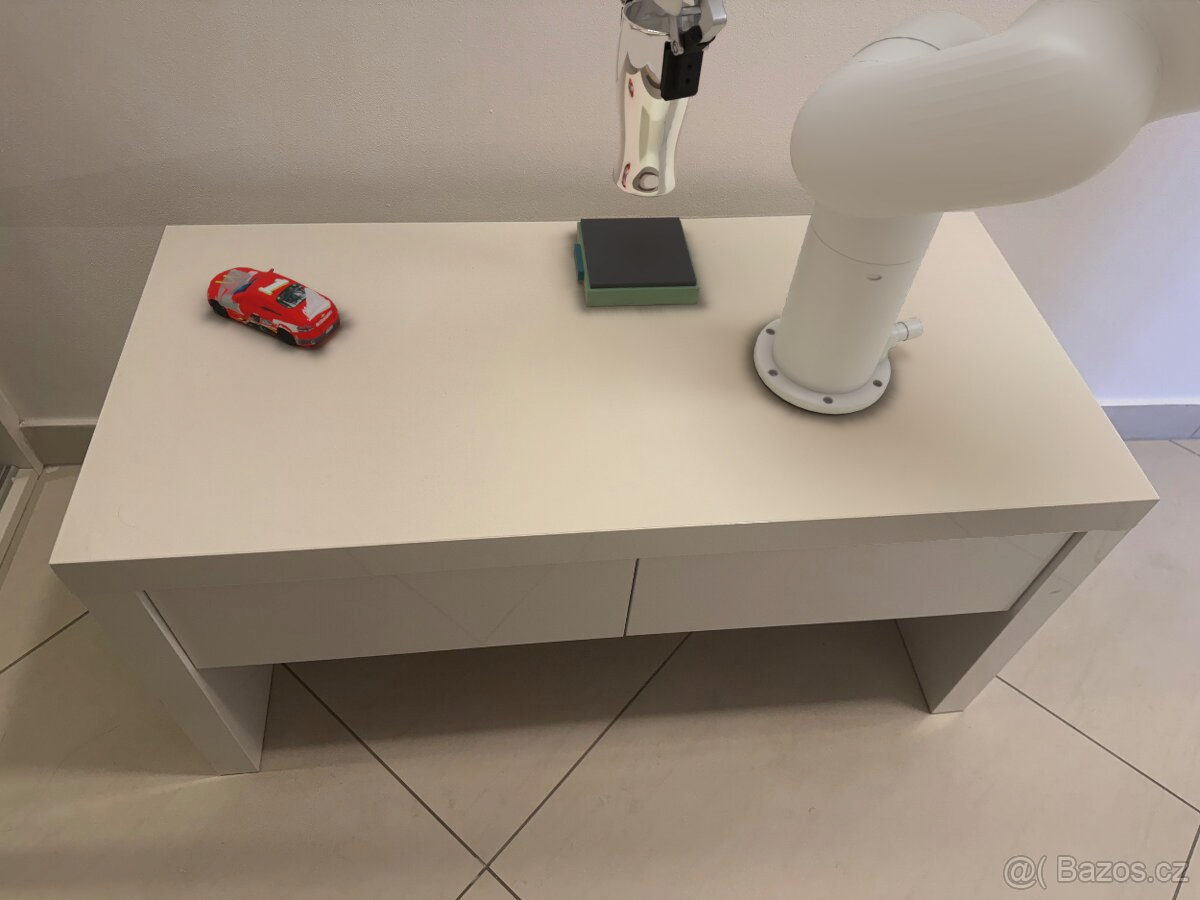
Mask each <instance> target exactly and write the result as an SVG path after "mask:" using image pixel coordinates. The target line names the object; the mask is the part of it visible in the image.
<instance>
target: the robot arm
mask: <svg viewBox="0 0 1200 900" xmlns="http://www.w3.org/2000/svg"><path fill="white" fill-rule="evenodd" d="M619 1H620V3H621V5H622V6H621V9H620V10H621V12H620V21H621V20H622V10H623V7H624V6H625V5H626V4H627V3H628V2H630V1H632V0H619ZM653 1H654V2H655V3H656V4H657V5H659V6H660V7H661V8H662V9H663V10H664V11H666V12H667V13H668V20H669V30H670V40H671V49H669V50H666V52H665V60H664V69H663V78H662V86H661V97H662V98H663V99H664V100H665V101H671V100H676V99H681V98H686V97H691V96H693V97H694V96H696V95H697V94H698V91H699V86H700V79H701V73H702V67H703V61H704V53H705V51H708V50H709V48H710V44H711V43H712V42H713V41H715V40H716V38H717V36H718V34H719V33H721V31H722V30H723V29H724V28H725V27H726V25H727V23H728V15H727V13H726V8H725V5H726V3H727V0H693V5H694V6H689V7H682V4H683V0H653ZM689 15H694V26H692V27H691V28H690V29H689V30H687V31H686V32H685V33H684V34H683V25H682V17H683V16H689ZM620 26H621V22H620V24H619V27H620ZM1197 112H1200V0H1036V1H1035V2H1034V3H1033V4H1031V5H1030V6H1029V7H1028V8H1027V9H1026V10H1024V11H1023V13H1021V14H1020V15H1019V16H1018V17H1017V18H1016V19H1015V20H1014V21H1013V22H1011V24H1010V25H1008V27H1006V29H1004V30H1003V31H1001V32H999V33H996V34H993V35H991V36H990V34H989V32H987V30H986V29H985V28H984V27H983V26H982V25H981V24H980V23H978V22H977V21H976V20H975V19H972V18H971V17H969V16H967V15H965V14H962V13H958V12H955V11H953V10H952V11H951V10H930V11H924V12H920V13H917V14H914V15H911V16H910V17H907V18H904V19H902V20H900V21H898V22H897V23H895V24H893V25H892V26H890V27H889V28H887V29H886V30H884V31H883V32H881V33H880V34H879V35H877V36H876V37H875V38H874V39H873V40H871V41H869V43H868V44H867V45H865V46H863V47H862V48H861V49H860V50H859V51H858V52H856V53H855V54H854V55H853V56H852V57H851V58H849V59H848V60H847V61H845V63H844V64H842V65H840V67H838V68H837V69H836V70H834V72H832V73H831V74H830V75H829V76H828V77H826V78H825V79H824V80H822V82H821V83H819V85H817V86H816V87H815V88H814V89H813V90H812V92H811V93H810V94H809V95H808V97H807V98H806V100H805V101H804V102H803V104H802V106H801V107H800V109H799V110H798V113H797V115H796V117H795V120H794V123H793V126H792V130H791V134H790V141H789V157H790V162H791V166H792V170H793V172H794V176H795V178H796V179H797V181H798V183H799V184H800V186H801V188H802V189H803V190H804V192H805V193H806V194H808V195H809V197H810V198H812V199H813V200H814V204H813V207H812V211H811V214H810V217H809V220H808V224H807V227H806V230H805V234H804V237H803V240H802V245H801V247H800V251H799V255H798V258H797V261H796V265H795V267H794V271H793V275H792V278H791V281H790V285H789V288H788V291H787V295H786V298H785V301H784V306H783V309H782V312H781V315H780V317H777V318H775V319H773V320H772V321H770V322H768V323H767V324H766V326H764V328H762V330H761V331H760V332H759V334H758V336H757V338H756V341H755V345H754V348H753V361H754V367H755V370H756V371H757V373H758V376H759V378H761V380H762V381H763V383H764V384H765V385H766V386H767V387H768V388H769V389H770V390H771V391H772V392H773V393H774V394H776V395H777V396H778V397H780V398H781V399H782V400H784V401H786V402H788V403H790V404H792V405H794V406H795V407H798V408H801V409H803V410H807V411H811V412H815V413H820V414H828V415H843V414H850V413H854V412H859V411H862V410H864V409H866V408H868V407H870V406H872V405H873V404H874V403H876V402H877V401H878V400H879V399H880V398H881V397H882V395H883V394H884V393H885V390H886V389H887V387H888V385H889V382H890V378H891V373H892V371H891V370H892V369H891V362H890V360H889V356H888V353H889V351H890V350H891V349H894V348H896V347H897V345H898V343H900V342H907V341H911V340H913V339H916V338H919V337H921V336H922V335H923V333H924V325H923V322H922V320H921V319H920V318H919V317H916V316H914V317H910V318H907V319H903V320H900V321H897V320H898V318H899V315H900V313H901V311H902V308H903V307H904V303H905V302H906V299H907V297H908V294H909V292H910V289H911V288H912V285H913V283H914V281H915V278H916V276H917V274H918V272H919V269H920V267H921V264H922V263H923V260H924V258H925V256H926V253H927V251H928V249H929V247H930V245H931V243H932V240H933V237H934V236H935V233H936V232H937V229H938V227H939V225H940V222H941V220H942V219H943V215H944V214H945V213H951V212H959V211H967V210H976V209H985V208H986V209H987V208H994V207H1001V206H1009V205H1018V204H1024V203H1031V202H1035V201H1039V200H1043V199H1046V198H1049V197H1053V196H1056V195H1058V194H1059V195H1060V194H1063V193H1064V192H1067V191H1069V190H1072V189H1074V188H1077V187H1079V186H1081V185H1082V184H1084V183H1086V182H1088V181H1090V180H1091V179H1093V178H1095V177H1096V176H1098V175H1099V174H1100V173H1102V172H1103V171H1105V170H1106V169H1107V168H1108V167H1110V166H1111V165H1112V164H1113V163H1115V161H1116V160H1117V159H1118V158H1119V157H1120V156H1121V155H1122V154H1123V153H1124V152H1125V150H1126V149H1127V148H1128V147H1129V145H1131V143H1132V141H1133V140H1134V139H1135V137H1136V136H1137V135H1138V133H1139V131H1140V130H1141V129H1142V128H1143V127H1144V126H1146V125H1148V124H1152V123H1154V122H1158V121H1160V120H1164V119H1168V118H1173V117H1177V116H1182V115H1187V114H1188V115H1189V114H1192V113H1197Z"/></svg>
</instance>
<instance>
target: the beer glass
mask: <svg viewBox="0 0 1200 900" xmlns="http://www.w3.org/2000/svg"><path fill="white" fill-rule="evenodd" d="M689 6H694V3H691V2H688V1H686V0H683V4H682V7H689ZM622 7H623V10H622V9H621V10H622V20H621V19H620V23H621V26H620V25H619V33H618V40H617V47H616V55H615V73H614V75H615V77H614V81H615V96H616V97H615V98H616V106H617V107H616V108H617V117H618V128H619V145H618V150H617V155H616V159H615V162H614V165H613V169H612V179H613V182H614V184H615V185H616V186H617V188H619V189H620V190H621V191H623V192H625V193H626V194H629V195H631V196H635V197H640V198H656V197H657V198H658V197H661V196H664V195H667V194H669V193H670V192H672V191H673V190H674V189H675V188H676V187H677V185H678V182H679V167H678V151H679V144H680V139H681V136H682V133H683V129H684V126H685V124H686V120H687V117H688V114H689V111H690V109H691V106H692V105H691V104H692V102H693V99H694V96H691V97H686V98H681V99H676V100H671V101H665V100H664V99H663V98H662V97H661V86H662V78H663V69H664V60H665V52H666V50H669V49H671V40H670V30H669V20H668V13H667V12H666V11H664V10H663V9H662V8H661V7H660V6H659V5H657V4H656V3H655V2H654V1H653V0H632V1H630V2H628V3H627V4H626V5H623V6H622ZM682 25H683V34H684V33H685V32H686V31H687V30H689V29H690V28H691V27H692V26H694V15H689V16H683V17H682Z"/></svg>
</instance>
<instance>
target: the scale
mask: <svg viewBox="0 0 1200 900" xmlns="http://www.w3.org/2000/svg"><path fill="white" fill-rule="evenodd" d="M573 256H574V257H573V258H574V265H575V271H576V278H577V281H578V282H581V281H582V284H583V292H584V298H585V305H586V307H618V306H619V307H621V306H655V305H657V306H659V305H691V304H695V305H696V304H697V303H698V298H699V292H700V285H699V281H698V279H697V275H696V270H695V266H694V264H693V260H692V256H691V253H690V249H689V245H688V242H687V237H686V234H685V231H684V227H683V223H682V220H681V219H680V217H679V216H673V217H671V216H669V217H668V216H666V217H665V216H664V217H663V216H661V217H660V216H659V217H606V218H605V217H604V218H603V217H601V218H594V217H593V218H580V221H577V222H576V243H574V244H573Z"/></svg>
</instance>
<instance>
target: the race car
mask: <svg viewBox="0 0 1200 900" xmlns="http://www.w3.org/2000/svg"><path fill="white" fill-rule="evenodd" d="M274 271H275V268H270V269H269V270H268V271H262V270H259V269H256V268H252V267H248V266H247V267H246V266H238V267H237V266H236V267H232V268H230V269H227V270H224V271H222V272H220V273H218V274H216V275H215V276H214V277H212V279H211V281H210V282H209V286H208V288H207V292H206V297H207V302H208V304H209V306H210V307H211V308H212V310H213V311H214V312H215V313H217V314H218V315H220V316H221V317H227V316H228V317H229V318H232V319H233V320H236V321H239V322H241V323H243V324H245V325H248V326H250V327H253V328H255V329H257V330H260V331H263V332H264V333H266V334H269V335H271V336H274V337H277V338H278V337H280V339H281V340H282V341H283V342H284V343H286V344H288V345H290V346H294V345H295V344H296V345H297V346H314V345H317V344H318V343H322V342H323V341H324V339H326V338H327V337H328V336H330V334H331V333H332V332H333V331H334V330H335V329H336V328H337V327H339V326H340V325H341V317H340V313H339V310H338V308H337V306H336V305H335V303H334V302H333V300H332V299H330V298H329V297H327V296H326V295H324V294H321V293H320V292H317V291H316V290H314V289H312V288H310V287H308V286H306V285H304V284H302V283H301V282H298V281H296V280H294V279H293V278H289V277H287V276H285V275H282V274H279V273H276V272H274Z"/></svg>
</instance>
